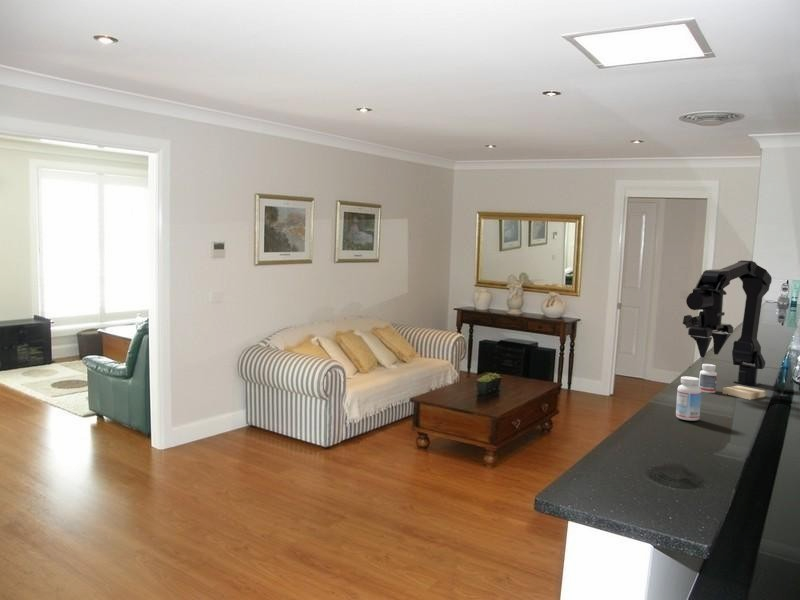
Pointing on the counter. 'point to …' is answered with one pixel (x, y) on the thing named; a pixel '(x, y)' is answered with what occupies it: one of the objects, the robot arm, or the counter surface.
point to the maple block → (744, 392)
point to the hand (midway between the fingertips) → (709, 355)
